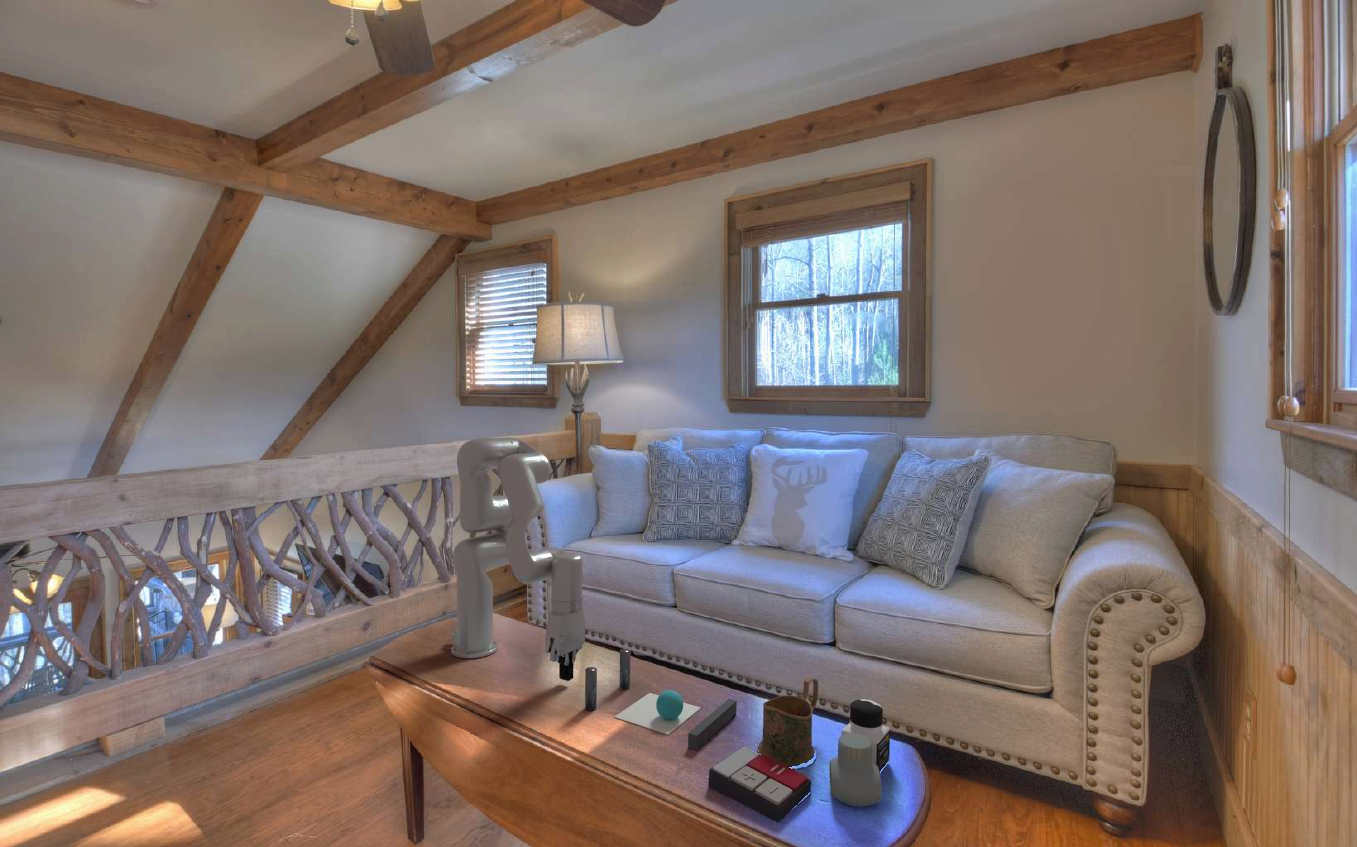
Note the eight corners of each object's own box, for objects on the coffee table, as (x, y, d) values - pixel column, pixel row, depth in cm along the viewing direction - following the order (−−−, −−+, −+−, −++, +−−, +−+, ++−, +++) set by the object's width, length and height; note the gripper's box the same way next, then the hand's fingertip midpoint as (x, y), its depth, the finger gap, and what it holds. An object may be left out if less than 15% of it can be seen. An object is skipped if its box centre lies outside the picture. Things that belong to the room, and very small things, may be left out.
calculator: (779, 804, 106) (708, 765, 115) (777, 829, 106) (707, 788, 116) (812, 775, 114) (743, 741, 124) (811, 798, 114) (742, 763, 124)
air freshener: (828, 776, 119) (829, 723, 119) (874, 781, 118) (875, 727, 118) (832, 812, 109) (833, 754, 108) (882, 818, 107) (883, 759, 107)
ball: (675, 726, 136) (651, 721, 139) (689, 715, 141) (666, 711, 145) (672, 697, 137) (649, 693, 140) (687, 687, 142) (664, 684, 145)
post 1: (582, 709, 144) (582, 669, 144) (589, 704, 147) (590, 666, 146) (591, 712, 143) (591, 672, 143) (598, 707, 145) (599, 668, 145)
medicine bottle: (876, 780, 118) (878, 716, 118) (840, 766, 123) (841, 704, 122) (889, 763, 124) (891, 702, 124) (854, 751, 128) (855, 691, 128)
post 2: (617, 687, 156) (617, 651, 155) (623, 684, 158) (624, 647, 158) (626, 690, 154) (626, 653, 154) (632, 686, 156) (632, 650, 156)
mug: (840, 739, 133) (841, 682, 132) (797, 776, 119) (798, 712, 119) (791, 721, 140) (792, 667, 140) (746, 754, 127) (747, 694, 126)
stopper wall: (688, 747, 129) (688, 732, 129) (728, 711, 144) (728, 698, 144) (696, 750, 128) (696, 735, 128) (736, 714, 143) (736, 700, 143)
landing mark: (614, 717, 141) (614, 716, 141) (649, 693, 153) (649, 692, 153) (668, 735, 133) (668, 734, 133) (700, 708, 145) (700, 707, 145)
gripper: (575, 594, 165) (574, 665, 165) (533, 610, 152) (533, 686, 153) (598, 599, 161) (597, 671, 161) (557, 615, 148) (557, 693, 149)
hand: (566, 678), depth 157 cm, fingers closed
